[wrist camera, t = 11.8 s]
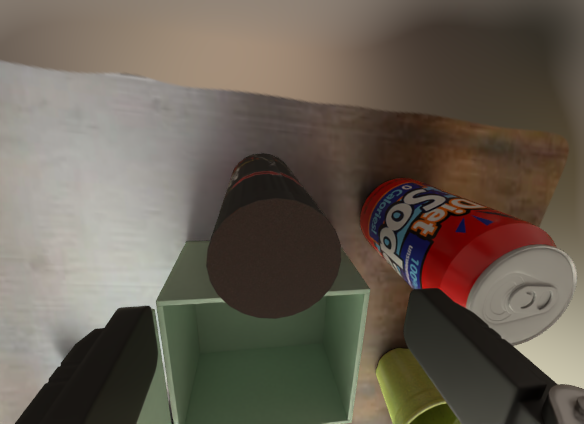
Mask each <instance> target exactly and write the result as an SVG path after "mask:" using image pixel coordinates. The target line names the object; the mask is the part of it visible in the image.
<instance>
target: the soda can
mask: <svg viewBox="0 0 584 424" xmlns="http://www.w3.org/2000/svg"><path fill="white" fill-rule="evenodd" d="M360 225H361V229H362V232H363V235H364V236H365V238H366V240H367V241H368V242H369V243H370V244H371V245H372V246H373V248H374V249H375V250H376V251H377V252H378V253H379V254H380V255H381V256H382V257H383V258H384V259H385V260H386V261H387V262H388V263H389V264H390V265H391V266H392V267H393V269H394V270H395V271H396V272H397V273H398V274H399V275H400V276H401V277H402V278H403V279H404V280H405V281H406V282H407V283H408V284H409V285H410V286H411V287H412V288H413V290H414V289H426V288H438V289H440V290H442V291H443V292H444V293H445V294H446V295H447V296H448V297H450V298H451V299H452V300H453V301H454V302H455V303H458V304H459V305H461V306H463V307H465V308H466V309H468V310H470V311H472V312H474V313H475V314H476V315H477V316H478V317H480V318H481V319H482V320H483V321H484V322H485V323H487V324H488V325H489V328H492V329H494V330H495V331H496V332H497V333H498V334H499V335H501V338H502V339H505V340H506V341H508V342H509V343H510V344H511V345H512V346H514V345H518V344H522V343H524V342H527V341H529V340H531V339H533V338H535V337H537V336H538V335H540V334H541V333H543V332H544V331H546V330H547V329H548V328H550V327H551V326H552V325H553V324H554V323H555V322H556V321H557V320H558V319H559V318H560V317H561V315H562V314H563V313H564V311H565V310H566V309H567V307H568V305H569V304H570V302H571V300H572V297H573V295H574V292H575V289H576V283H577V271H576V267H575V264H574V262H573V260H572V259H571V257H570V256H569V255H568V254H566V253H565V252H564V251H562V250H561V249H558V248H557V247H556V245H555V243H554V241H553V240H552V238H551V237H550V236H549V235H548V234H547V233H546V232H545V231H544V230H542V229H541V228H539V227H537V226H535V225H533V224H531V223H528V222H526V221H523V220H521V219H518V218H515V217H513V216H510V215H507V214H505V213H502V212H499V211H497V210H494V209H491V208H489V207H486V206H483V205H481V204H478V203H475V202H473V201H470V200H468V199H465V198H462V197H460V196H457V195H454V194H452V193H449V192H446V191H444V190H441V189H438V188H436V187H433V186H430V185H428V184H425V183H422V182H420V181H417V180H414V179H409V178H397V179H392V180H389V181H387V182H385V183H383V184H381V185H380V186H378V187H377V188H376V189H375V190H374V191H373V192H372V193H371V194H370V195H369V196H368V198H367V199H366V201H365V203H364V205H363V208H362V211H361V216H360Z"/></svg>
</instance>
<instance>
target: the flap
mask: <svg viewBox="0 0 584 424" xmlns="http://www.w3.org/2000/svg"><path fill="white" fill-rule="evenodd" d="M151 310H152V314H153V321H154V327H155V334H156V340H157V347H158V360H157V367H156V371H155V374H154V377H153V380H152V382H151V385H150V388H149V391H148V393H147V396H146V399H145V402H144V404H143V407H142V410H141V413H140V415H139V418H138V421H137V424H171V417H170V410H169V403H168V397H167V390H166V383H165V376H164V370H163V363H162V356H161V349H160V343H159V336H158V329H157V322H156V316H155V309H151Z"/></svg>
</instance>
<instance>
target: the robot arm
mask: <svg viewBox="0 0 584 424" xmlns="http://www.w3.org/2000/svg"><path fill="white" fill-rule="evenodd" d="M404 338H405V342H406V344H407V346H408V348H409V350H410V351H411V353H412V354H413V356H414V357H415V358H416V360H417V361H418V363H419V364H420V366H421V367H422V368H423V370H424V371H425V373H426V374H427V376H428V377H429V378H430V380H431V381H432V383H433V384H434V386H435V387H436V389H437V390H438V391H439V393H440V394H441V396H442V397H443V399H444V400H445V401H446V403H447V404H448V406H449V407H450V409H451V410H452V411H453V413H454V414H455V416H456V417H457V419H458V420H459V421H460V423H461V424H584V389H582V388H579V387H575V386H572V385H565V384H560V385H558V384H556V383H555V382H554V381H553V380H552V379H551V378H549V377H548V376H547V375H546V374H545V373H544V372H542V371H541V370H540V369H539V368H538V367H537V366H535V365H534V364H533V363H532V362H531V361H530V360H528V359H527V358H526V357H525V356H524V355H523V354H521V353H520V352H519V351H518V350H517V349H516V348H514V347H513V346H512V345H511V344H510V343H509V342H508V341H506V340H505V339H502V338H501V335H499V334H498V333H497V332H496V331H495V330H494V329H492V328H489V325H488V324H487V323H485V322H484V321H483V320H482V319H481V318H480V317H478V316H477V315H476V314H475V313H474V312H472V311H470V310H468V309H466V308H465V307H463V306H461V305H459V304H458V303H455V302H454V301H453V300H452V299H451V298H450V297H448V296H447V295H446V294H445V293H444V292H443V291H442V290H440V289H438V288H426V289H414V290H412V292H411V293H410V297H409V302H408V307H407V313H406V318H405V323H404ZM157 360H158V347H157V340H156V334H155V327H154V321H153V314H152V310H151V307H150V306H139V307H124V308H119V309H117V311H116V312H115V313H114V315H113V316H112V318H111V319H110V321H109V322H108V323H107V325H106V326H105V328H100V329H94V330H93V331H92V332H90V333H89V334H88V335H87V336H85V337H84V338H83V339H82V340H80V341H79V342H78V343H76V344H75V345H74V347H73V348H72V349H71V351H70V352H69V353H68V354H67V356H66V357H65V358H64V360H63V361H62V362H61V366H60V367H58V368H57V369H56V370H55V372H54V373H53V374H52V376H51V377H50V378H49V382H48V383H46V384H45V385H44V386H43V387H42V389H41V390H40V391H39V393H38V394H37V395H36V397H35V398H34V399H33V400H32V402H31V403H30V404H29V406H28V407H27V408H26V410H25V411H24V412H23V414H22V415H21V416H20V418H19V419H18V420H17V421H16V423H15V424H137V421H138V418H139V415H140V413H141V410H142V407H143V404H144V402H145V399H146V396H147V393H148V391H149V388H150V385H151V382H152V380H153V377H154V374H155V371H156V367H157Z"/></svg>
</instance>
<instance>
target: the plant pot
mask: <svg viewBox="0 0 584 424" xmlns="http://www.w3.org/2000/svg"><path fill="white" fill-rule="evenodd" d="M376 376H377V378H378V381H379V384H380V387H381V390H382V393H383V396H384V399H385V402H386V405H387V407H388V410H389V413H390V417H391V420H392V423H393V424H461V423H460V421H459V420H458V419H457V417H456V416H455V414H454V413H453V411H452V410H451V409H450V407H449V406H448V404H447V403H446V401H445V400H444V399H443V397H442V396H441V394H440V393H439V391H438V390H437V389H436V387H435V386H434V384H433V383H432V381H431V380H430V378H429V377H428V376H427V374H426V373H425V371H424V370H423V368H422V367H421V366H420V364H419V363H418V361H417V360H416V358H415V357H414V356H413V354H412V353H411V351H410V350H409V349H403V348H396V349H393V350H391V351H389V352H388V353H386V354H385V355H384V356H383V357H382V358H381V359H380V360H379V364H378V367H377V369H376Z"/></svg>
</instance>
